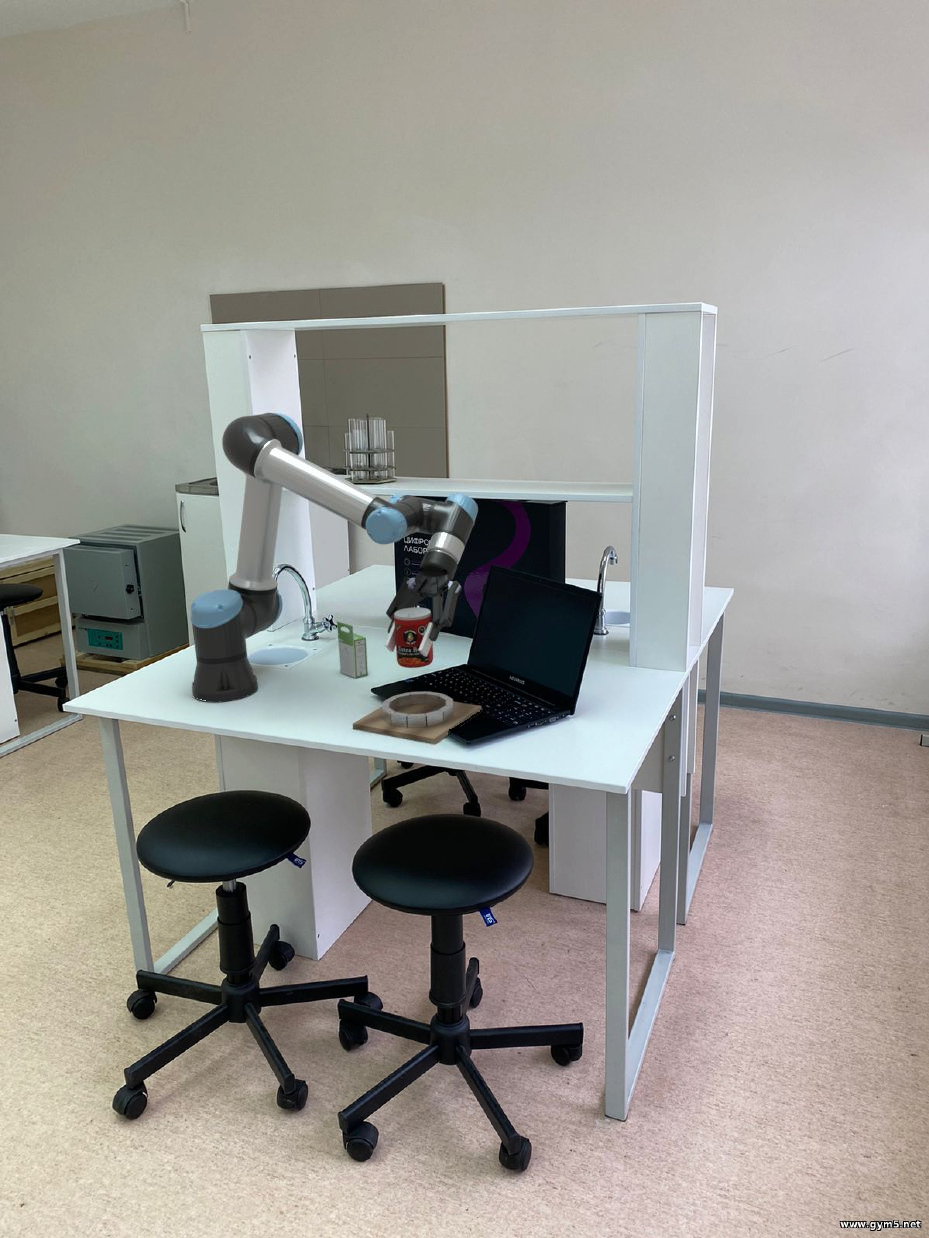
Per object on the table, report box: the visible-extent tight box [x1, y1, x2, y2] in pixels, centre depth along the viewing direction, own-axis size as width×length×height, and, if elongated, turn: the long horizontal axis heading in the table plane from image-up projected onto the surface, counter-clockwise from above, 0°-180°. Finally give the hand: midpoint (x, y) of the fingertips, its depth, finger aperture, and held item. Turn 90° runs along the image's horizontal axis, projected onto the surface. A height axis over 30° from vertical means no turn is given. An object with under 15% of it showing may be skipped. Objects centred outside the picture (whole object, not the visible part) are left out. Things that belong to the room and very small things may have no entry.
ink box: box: [336, 621, 369, 679], centre depth 232 cm, size 7×4×13 cm, turn 40°
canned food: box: [394, 607, 434, 669], centre depth 198 cm, size 8×8×11 cm
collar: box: [381, 691, 454, 728], centre depth 202 cm, size 15×15×2 cm
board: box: [352, 701, 483, 745], centre depth 202 cm, size 20×20×1 cm
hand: (405, 650), depth 195 cm, fingers closed on canned food, 8 cm apart
